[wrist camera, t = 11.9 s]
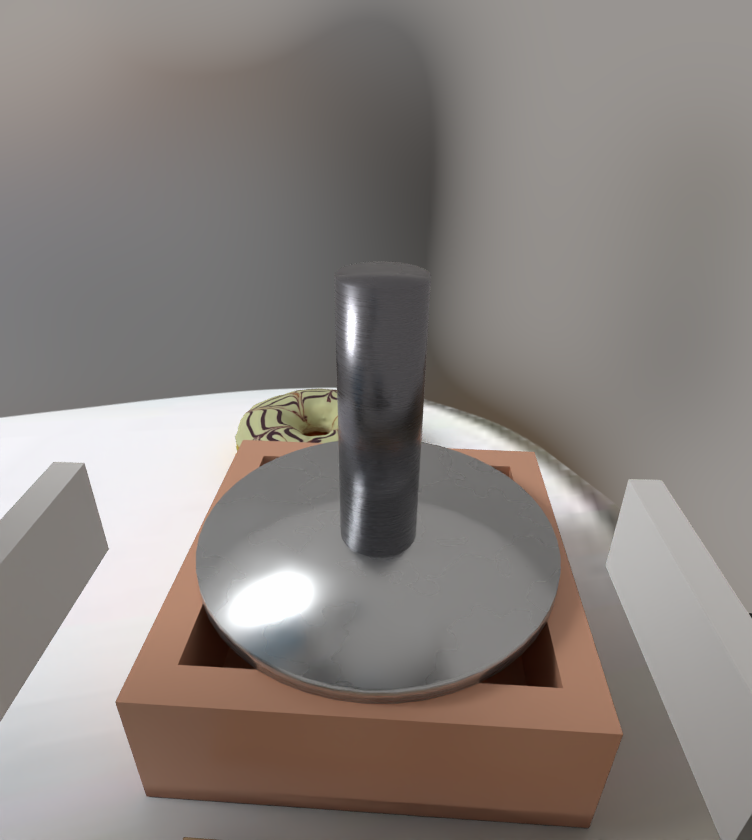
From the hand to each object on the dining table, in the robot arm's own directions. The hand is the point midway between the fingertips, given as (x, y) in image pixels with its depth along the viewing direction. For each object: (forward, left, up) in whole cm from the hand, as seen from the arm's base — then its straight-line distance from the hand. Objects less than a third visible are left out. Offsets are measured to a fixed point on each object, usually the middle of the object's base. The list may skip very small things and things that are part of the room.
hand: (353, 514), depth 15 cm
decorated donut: (-5, +22, -14) cm, 27 cm away
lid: (0, +8, -8) cm, 11 cm away
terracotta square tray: (0, +8, -13) cm, 16 cm away
